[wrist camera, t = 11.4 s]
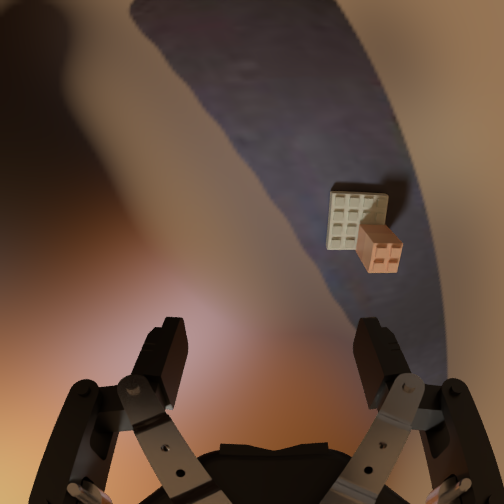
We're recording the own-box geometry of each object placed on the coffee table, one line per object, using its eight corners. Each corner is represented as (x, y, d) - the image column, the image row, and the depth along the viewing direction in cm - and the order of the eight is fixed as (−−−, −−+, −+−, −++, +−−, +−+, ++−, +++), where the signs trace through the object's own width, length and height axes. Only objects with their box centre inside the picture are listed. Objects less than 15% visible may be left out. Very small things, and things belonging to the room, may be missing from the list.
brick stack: (359, 224, 39) (374, 245, 33) (385, 224, 39) (404, 245, 33) (355, 251, 40) (369, 275, 35) (381, 251, 40) (398, 274, 35)
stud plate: (330, 190, 38) (333, 194, 37) (385, 193, 38) (389, 196, 37) (325, 245, 42) (328, 250, 41) (377, 246, 42) (381, 251, 40)
